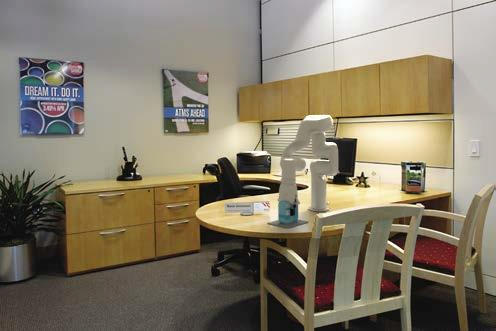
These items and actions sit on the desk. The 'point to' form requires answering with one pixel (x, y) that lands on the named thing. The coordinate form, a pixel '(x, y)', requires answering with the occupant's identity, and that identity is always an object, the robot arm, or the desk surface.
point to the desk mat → (289, 225)
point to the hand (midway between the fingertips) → (288, 214)
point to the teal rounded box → (286, 213)
